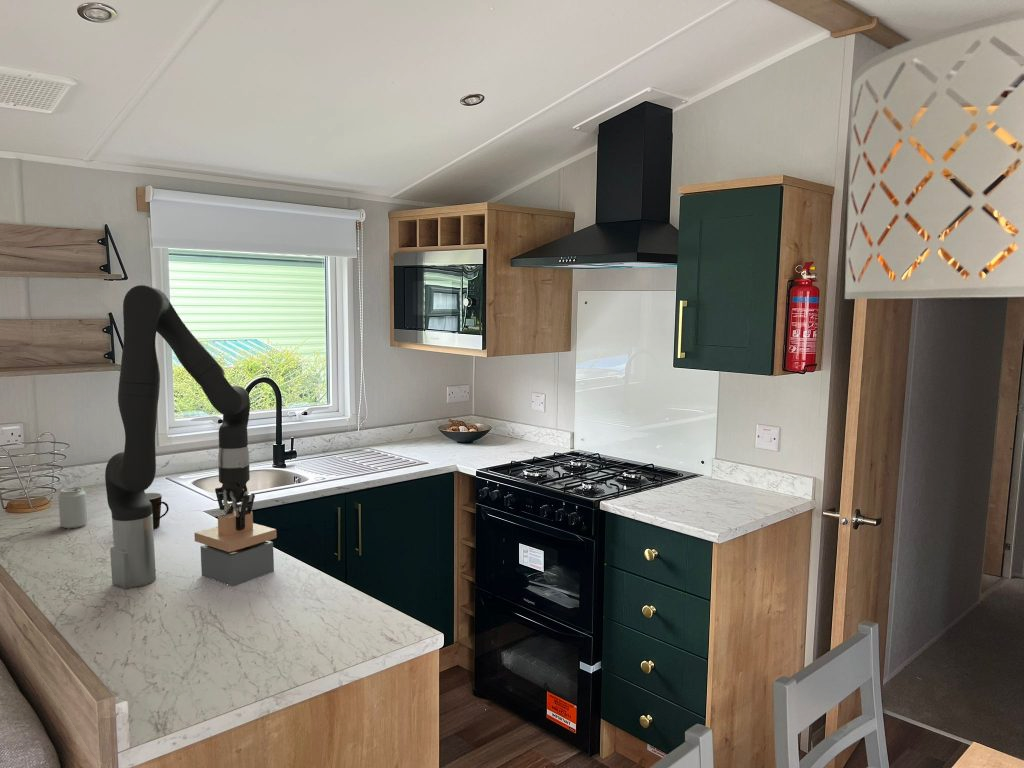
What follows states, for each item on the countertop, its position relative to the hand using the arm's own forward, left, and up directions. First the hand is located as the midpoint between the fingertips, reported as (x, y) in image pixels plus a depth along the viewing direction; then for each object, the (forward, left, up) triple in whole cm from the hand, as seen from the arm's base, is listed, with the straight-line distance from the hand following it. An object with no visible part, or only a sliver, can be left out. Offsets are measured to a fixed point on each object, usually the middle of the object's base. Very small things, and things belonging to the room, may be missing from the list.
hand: (235, 528), depth 199 cm
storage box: (0, 0, -12) cm, 12 cm away
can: (-3, +77, -13) cm, 78 cm away
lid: (0, 0, -3) cm, 3 cm away
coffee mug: (+9, +55, -13) cm, 57 cm away
